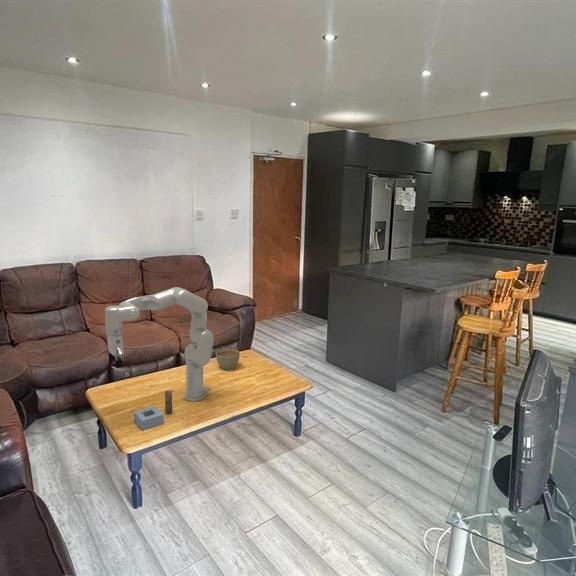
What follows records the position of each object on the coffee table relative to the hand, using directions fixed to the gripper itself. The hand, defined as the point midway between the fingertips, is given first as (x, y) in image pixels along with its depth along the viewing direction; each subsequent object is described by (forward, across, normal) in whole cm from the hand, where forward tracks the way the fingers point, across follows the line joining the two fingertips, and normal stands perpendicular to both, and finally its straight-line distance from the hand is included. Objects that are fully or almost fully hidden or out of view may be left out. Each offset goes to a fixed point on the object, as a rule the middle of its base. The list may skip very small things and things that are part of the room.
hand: (115, 364), depth 205 cm
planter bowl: (+30, +26, -81) cm, 91 cm away
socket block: (+30, -11, -12) cm, 34 cm away
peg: (+30, -8, -24) cm, 39 cm away
